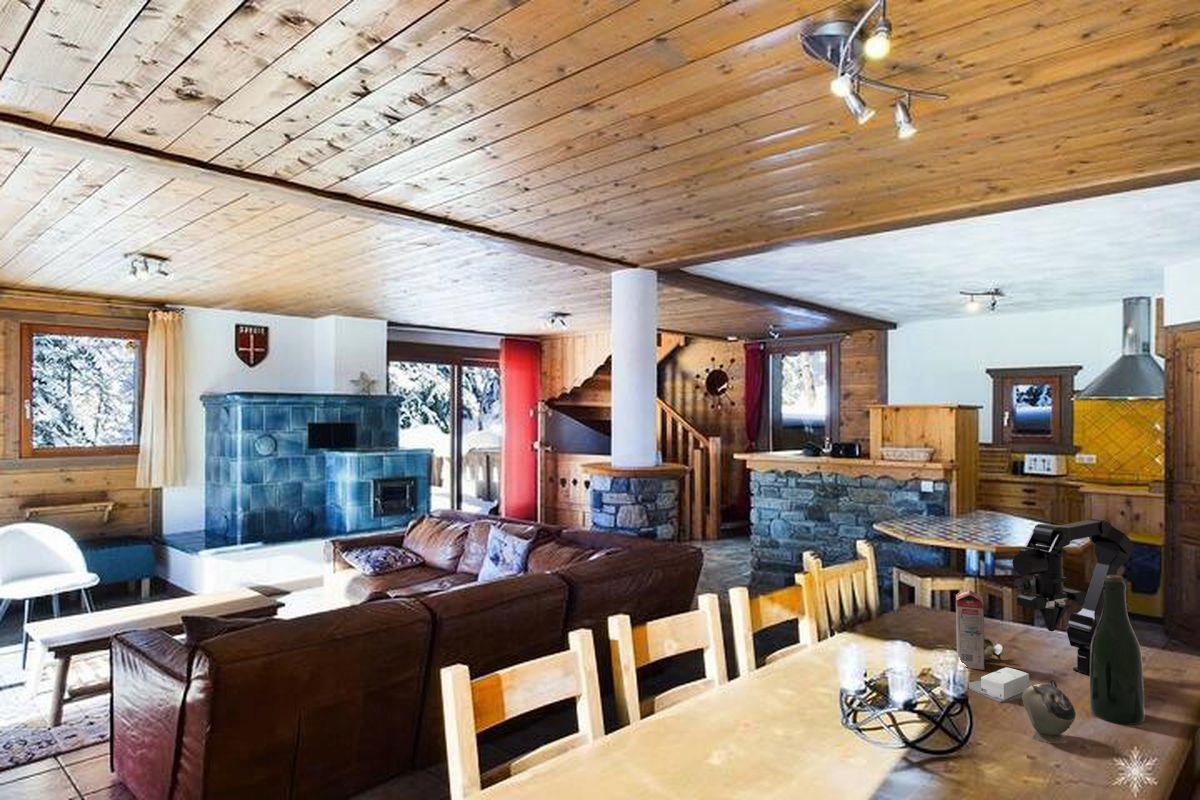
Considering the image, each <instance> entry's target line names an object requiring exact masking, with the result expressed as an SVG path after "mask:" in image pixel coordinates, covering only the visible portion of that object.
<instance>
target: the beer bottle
mask: <svg viewBox="0 0 1200 800" xmlns="http://www.w3.org/2000/svg"><path fill="white" fill-rule="evenodd" d="M1105 578H1106V580H1104V581H1103V588H1104V600H1103V610H1102V615H1101V618H1100V621H1099V623H1098V626H1097V628H1096V630H1095V632H1094V634H1093V637H1092V641H1091V647H1090V675H1089V706H1090V707H1089V709H1090V711H1091V712H1092V714H1094V715H1096V717H1098V718H1100V719H1103V720H1106V721H1109V722H1111V723H1116V724H1124V725H1139V724H1140V723H1143V722H1144V720H1145V710H1146V709H1145V690H1144V689H1145V688H1144V687H1145V685H1144V669H1143V664H1144V663H1143V656H1142V650H1141V646H1140V642H1139V640H1138V638H1137V636H1136V634H1135V631H1134V629H1133V627H1132V624H1131V622H1130V618H1129V615H1128V609H1127V602H1126V601H1127V600H1126V598H1127V597H1126V590H1127V586H1126V583H1125V581H1124V577H1123V576H1121V575H1118V574H1116V575H1106V577H1105Z"/></svg>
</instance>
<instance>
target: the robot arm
mask: <svg viewBox="0 0 1200 800" xmlns="http://www.w3.org/2000/svg"><path fill="white" fill-rule="evenodd" d="M1086 538H1089V541H1090V542H1091V543H1092V544H1093V545H1094V547H1093V553H1094V556H1095V559H1096V564H1095V568H1094V570H1093V574H1092V577H1091V580H1090V583H1089V586H1088V590H1087V592H1086V596H1085V594H1084V593H1083V592H1082V591H1080V590H1075V589H1071V588H1067V587H1065V588H1064V583H1065V582H1068V580H1067V577H1065V576H1064V572H1063V566H1064V565H1063V556H1068V555H1069V552H1068V551H1067V550H1066V549H1064V548H1065V547H1067V546H1070V545H1071V542H1072V541H1076V540H1081V539H1086ZM1134 548H1135V547H1134V543H1133V542H1132V541H1131V539H1130V538H1129V536H1127V535H1126V534H1125V533H1124V532H1122V531H1121V530H1120V529H1117V528H1116V527H1114V526H1113V525H1112V524H1111V523H1110V522H1109V521H1108V520H1106V519H1098V518H1089V519H1086V520H1081V521H1075V522H1070V523H1066V524H1065V523H1064V524H1061V525H1059V524H1051V523H1049V524H1048V523H1037V524H1036V525H1035V526H1034V528H1033V529H1032V531H1031V533H1030V535H1029V537H1028V539H1027V541H1026V542H1025V545H1024V547H1023V548H1019V549H1018V553H1017V554H1015V555H1014V557H1013V558H1012V562H1011V563H1012V567H1013V570H1014V571H1015V572H1016V574H1018V575H1020V576H1024V577H1026V576H1027V577H1028V576H1032V579H1031V580H1026V579H1025V578H1024V577H1019V578H1015V579H1014V583H1013V586H1014V589H1015V590H1016V591H1019V593H1020V594H1018V595H1017V596H1016V597H1015V604H1016V605H1017V606H1020V607H1024V608H1027V609H1031V610H1036V611H1037V610H1039V611H1040V614H1041V616H1042V618H1043V620H1044V623H1045V626H1046V629H1047V630H1048V632H1054V631H1055V630H1056V628H1057V626H1058V625H1059V623H1060V621H1061V620H1062V618H1063V616H1064V615H1065V614H1066V612H1067V611H1068V609H1070V608H1071V606H1070V605H1067V604H1066V602H1065V601H1070V600H1071V601H1074V603H1075V604H1076V605H1077V604H1078V605H1080V604H1083V605H1082V609H1081V610H1080V611H1078V612H1072V613H1071V614H1070V615H1069V620H1068V623H1067V624H1066V627H1067V628H1066V634H1067V635H1066V636H1067V639H1068V642H1069V645H1070V647H1075V648H1077V655H1076V657H1077V658H1076V663H1077V664H1076V665H1077V666H1075V667H1074V666H1073V667H1072V670H1073V671H1075V672H1079V673H1081V674H1084V675H1087V676H1090V647H1091V641H1092V637H1093V634H1094V632H1095V630H1096V628H1097V626H1098V623H1099V621H1100V618H1101V615H1102V610H1103V600H1104V588H1103V581H1104V580H1106V578H1105V577H1106V575H1118V570H1119V568H1121V567H1122V566H1124V565H1125V564H1126V563H1127V562H1128V561H1129V559H1130V558H1131V555H1132V553H1133V551H1134Z"/></svg>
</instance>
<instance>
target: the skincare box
mask: <svg viewBox="0 0 1200 800" xmlns="http://www.w3.org/2000/svg"><path fill="white" fill-rule="evenodd" d="M980 680H981V693H984V694H987V695H990V696H992V697H996V698H1000V699H1003V700H1005V699H1008V698H1010V697H1013V696H1015V695H1017V694H1020V693H1022V692H1024V691H1025V690H1026V689H1027V688H1028V687H1030V674H1029V673H1027V672H1025V671H1022V670H1018V669H1014V668H1011V667H1004V668H1000V669H998V670H996V671H995V670H994V671H993V672H990V673H988V674H986V675H983V676H981V677H980Z"/></svg>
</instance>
